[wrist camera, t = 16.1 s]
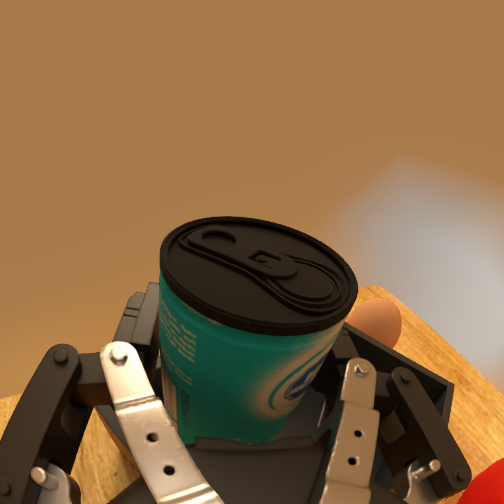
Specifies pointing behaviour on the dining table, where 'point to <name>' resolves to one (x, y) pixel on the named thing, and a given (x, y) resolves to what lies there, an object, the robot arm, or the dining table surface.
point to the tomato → (486, 486)
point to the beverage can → (245, 324)
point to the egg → (378, 320)
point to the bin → (310, 403)
